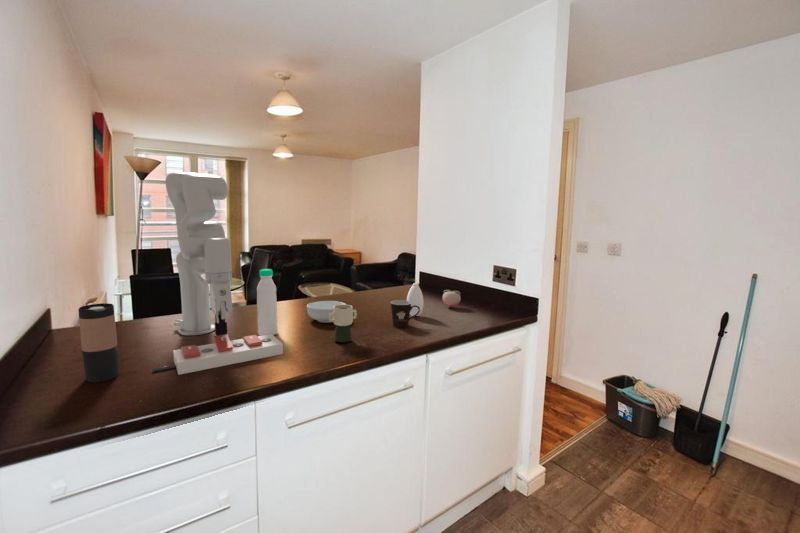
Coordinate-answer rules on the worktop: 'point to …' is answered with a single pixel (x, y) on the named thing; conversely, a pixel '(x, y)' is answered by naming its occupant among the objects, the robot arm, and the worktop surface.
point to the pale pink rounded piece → (451, 298)
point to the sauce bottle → (415, 299)
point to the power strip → (224, 355)
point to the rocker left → (190, 351)
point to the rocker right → (252, 340)
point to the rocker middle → (223, 343)
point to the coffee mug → (401, 313)
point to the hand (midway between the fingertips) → (221, 334)
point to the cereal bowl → (322, 310)
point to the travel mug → (99, 341)
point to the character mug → (342, 321)
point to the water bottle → (266, 304)
